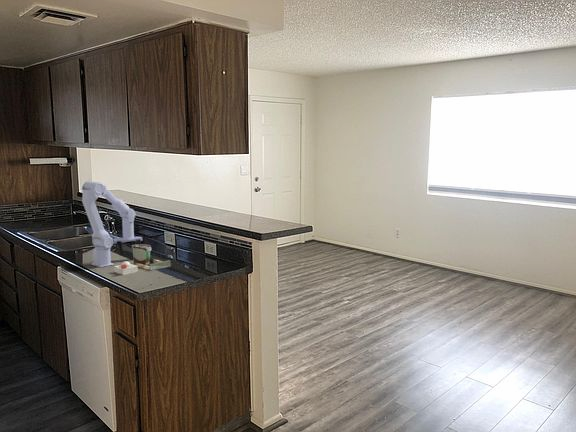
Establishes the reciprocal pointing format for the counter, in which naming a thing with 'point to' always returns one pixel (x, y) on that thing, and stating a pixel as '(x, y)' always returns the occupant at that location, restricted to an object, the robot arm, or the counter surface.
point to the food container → (141, 254)
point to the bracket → (155, 265)
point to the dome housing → (125, 269)
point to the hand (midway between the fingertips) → (128, 254)
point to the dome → (127, 264)
